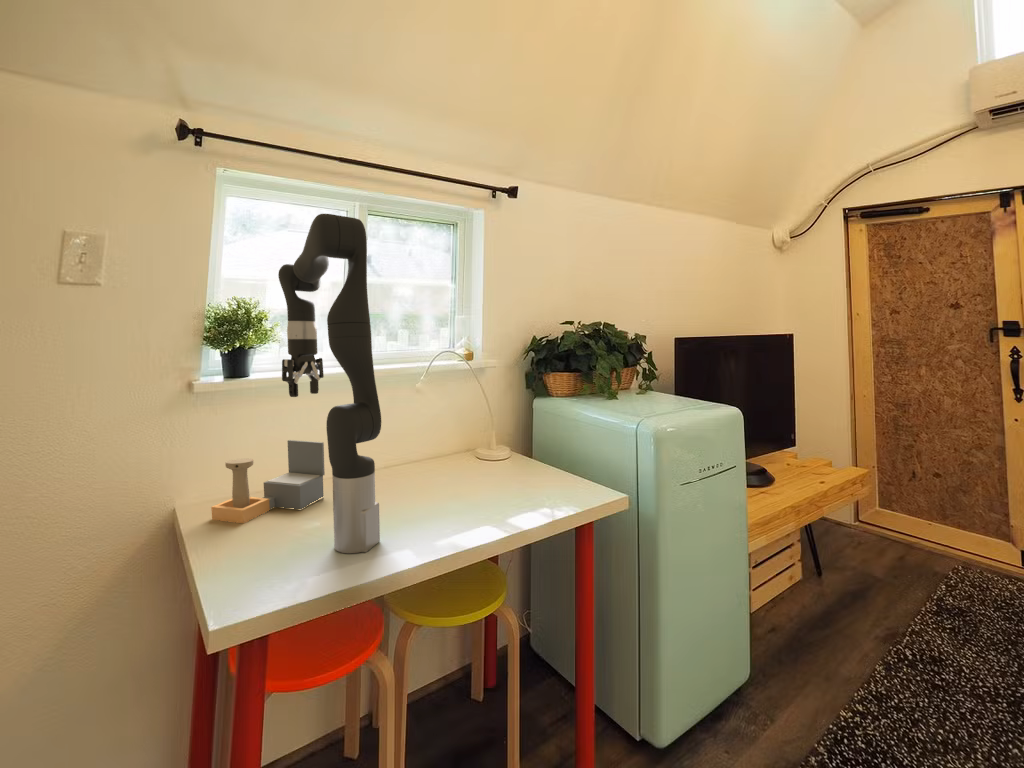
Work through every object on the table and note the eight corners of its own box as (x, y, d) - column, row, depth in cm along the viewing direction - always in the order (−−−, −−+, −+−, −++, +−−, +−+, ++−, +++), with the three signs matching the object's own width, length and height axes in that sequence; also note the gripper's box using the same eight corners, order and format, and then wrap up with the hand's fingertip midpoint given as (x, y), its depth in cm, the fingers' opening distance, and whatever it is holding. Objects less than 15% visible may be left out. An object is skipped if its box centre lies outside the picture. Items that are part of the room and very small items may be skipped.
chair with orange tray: (325, 497, 136) (323, 442, 134) (269, 526, 114) (266, 461, 113) (275, 492, 140) (272, 438, 138) (212, 519, 118) (208, 456, 117)
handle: (252, 517, 120) (250, 462, 119) (225, 519, 118) (222, 464, 117) (257, 510, 125) (255, 458, 123) (231, 513, 123) (229, 459, 122)
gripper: (296, 337, 118) (298, 398, 119) (329, 338, 132) (331, 392, 133) (272, 337, 120) (274, 397, 121) (307, 338, 133) (309, 392, 135)
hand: (304, 395), depth 127 cm, fingers open, 8 cm apart
